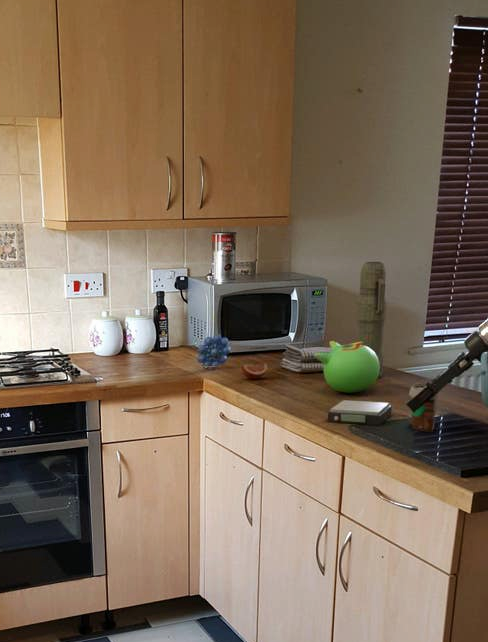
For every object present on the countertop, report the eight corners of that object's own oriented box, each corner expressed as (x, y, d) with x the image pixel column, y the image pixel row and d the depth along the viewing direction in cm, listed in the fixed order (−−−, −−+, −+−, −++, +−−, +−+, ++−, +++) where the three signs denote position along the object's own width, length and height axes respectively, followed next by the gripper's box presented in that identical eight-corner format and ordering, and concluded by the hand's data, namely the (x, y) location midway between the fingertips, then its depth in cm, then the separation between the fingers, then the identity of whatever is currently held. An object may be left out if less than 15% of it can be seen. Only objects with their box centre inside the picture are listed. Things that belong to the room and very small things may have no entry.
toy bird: (370, 399, 244) (373, 346, 240) (311, 396, 251) (313, 344, 246) (384, 388, 260) (386, 337, 255) (328, 385, 267) (329, 336, 262)
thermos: (368, 380, 273) (374, 263, 262) (345, 374, 283) (350, 262, 272) (391, 377, 277) (397, 261, 265) (367, 372, 287) (373, 261, 275)
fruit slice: (263, 376, 285) (263, 361, 283) (271, 379, 279) (271, 364, 277) (239, 378, 283) (239, 362, 281) (246, 381, 277) (246, 365, 275)
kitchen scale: (378, 426, 213) (379, 413, 212) (326, 422, 219) (327, 409, 218) (391, 415, 224) (391, 402, 223) (341, 411, 230) (342, 399, 229)
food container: (409, 421, 217) (411, 380, 214) (435, 422, 215) (437, 381, 212) (404, 432, 206) (407, 390, 203) (432, 433, 204) (435, 390, 201)
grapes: (227, 366, 307) (227, 331, 303) (232, 369, 300) (232, 334, 296) (194, 368, 305) (194, 333, 301) (199, 371, 298) (198, 335, 294)
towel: (301, 374, 286) (301, 350, 284) (279, 366, 303) (279, 343, 300) (343, 371, 290) (344, 347, 287) (319, 363, 307) (320, 341, 304)
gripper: (491, 362, 188) (416, 425, 199) (506, 345, 208) (437, 402, 220) (467, 337, 188) (393, 401, 200) (484, 321, 209) (417, 380, 221)
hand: (416, 402), depth 210 cm, fingers open, 13 cm apart
